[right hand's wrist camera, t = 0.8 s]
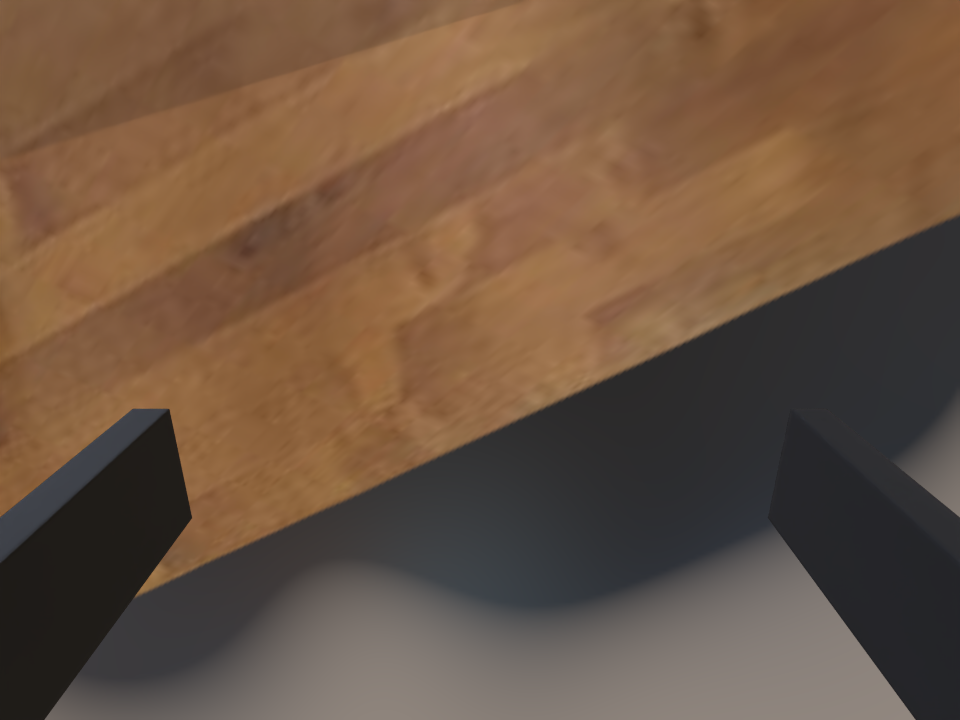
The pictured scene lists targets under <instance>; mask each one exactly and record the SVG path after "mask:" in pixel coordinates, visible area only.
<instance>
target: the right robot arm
mask: <svg viewBox="0 0 960 720" xmlns="http://www.w3.org/2000/svg"><path fill="white" fill-rule="evenodd" d="M191 519H192V515H191V511H190V506H189V501H188V496H187V491H186V487H185V482H184V477H183V472H182V467H181V463H180V458H179V453H178V448H177V444H176V439H175V434H174V429H173V424H172V420H171V415H170V410H169V409H132V410H131V411H130V412H129V413H127V414H126V415H125V416H124V417H122V418H121V419H120V420H119V421H118V422H116V423H115V424H114V425H113V426H111V427H110V428H109V429H108V430H107V431H105V432H104V433H103V434H102V435H100V436H99V437H98V438H97V439H96V440H94V441H93V442H92V443H91V444H89V445H88V446H87V447H86V448H85V449H83V450H82V451H81V452H80V453H78V454H77V455H76V456H75V457H74V458H72V459H71V460H70V461H69V462H67V463H66V464H65V465H64V466H63V467H61V468H60V469H59V470H58V471H56V472H55V473H54V474H53V475H52V476H50V477H49V478H48V479H47V480H45V481H44V482H43V483H42V484H41V485H39V486H38V487H37V488H36V489H34V490H33V491H32V492H31V493H30V494H28V495H27V496H26V497H25V498H23V499H22V500H21V501H20V502H19V503H17V504H16V505H15V506H14V507H12V508H11V509H10V510H9V511H8V512H6V513H5V514H4V515H3V516H1V517H0V720H44V719H45V718H46V717H47V715H48V714H49V713H50V711H51V710H52V708H53V707H54V706H55V704H56V703H57V702H58V700H59V699H60V697H61V696H62V695H63V693H64V692H65V691H66V689H67V688H68V687H69V685H70V684H71V682H72V681H73V680H74V678H75V677H76V676H77V674H78V673H79V672H80V670H81V669H82V667H83V666H84V665H85V663H86V662H87V661H88V659H89V658H90V657H91V655H92V654H93V652H94V651H95V650H96V648H97V647H98V646H99V644H100V643H101V642H102V640H103V639H104V637H105V636H106V635H107V633H108V632H109V631H110V629H111V628H112V627H113V625H114V624H115V622H116V621H117V620H118V618H119V617H120V616H121V614H122V613H123V612H124V610H125V609H126V607H127V606H128V605H129V603H130V602H131V601H132V599H133V598H134V596H135V595H136V594H137V592H138V591H139V590H140V588H141V587H142V586H143V584H144V583H145V581H146V580H147V579H148V577H149V576H150V575H151V573H152V572H153V571H154V569H155V568H156V566H157V565H158V564H159V562H160V561H161V560H162V558H163V557H164V556H165V554H166V553H167V551H168V550H169V549H170V547H171V546H172V545H173V543H174V542H175V541H176V539H177V538H178V536H179V535H180V534H181V532H182V531H183V530H184V528H185V527H186V526H187V524H188V523H189V521H190V520H191ZM768 519H769V520H770V521H771V523H772V524H773V525H774V527H775V528H776V530H777V531H778V532H779V534H780V535H781V536H782V538H783V539H784V540H785V542H786V543H787V545H788V546H789V547H790V549H791V550H792V551H793V553H794V554H795V555H796V557H797V558H798V560H799V561H800V562H801V564H802V565H803V566H804V568H805V569H806V571H807V572H808V573H809V575H810V576H811V577H812V579H813V580H814V581H815V583H816V584H817V586H818V587H819V588H820V590H821V591H822V592H823V594H824V595H825V596H826V598H827V599H828V601H829V602H830V603H831V605H832V606H833V607H834V609H835V610H836V612H837V613H838V614H839V616H840V617H841V618H842V620H843V621H844V622H845V624H846V625H847V627H848V628H849V629H850V631H851V632H852V633H853V635H854V636H855V637H856V639H857V640H858V642H859V643H860V644H861V646H862V647H863V648H864V650H865V651H866V652H867V654H868V655H869V656H870V658H871V659H872V661H873V662H874V663H875V665H876V666H877V667H878V669H879V670H880V672H881V673H882V674H883V676H884V677H885V678H886V680H887V681H888V682H889V684H890V685H891V687H892V688H893V689H894V691H895V692H896V693H897V695H898V696H899V698H900V699H901V700H902V702H903V703H904V704H905V706H906V707H907V708H908V710H909V711H910V713H911V714H912V715H913V717H914V718H915V719H916V720H960V517H958V516H957V515H956V514H955V513H954V512H952V511H951V510H950V509H949V508H948V507H946V506H945V505H944V504H943V503H941V502H940V501H939V500H938V499H937V498H935V497H934V496H933V495H932V494H930V493H929V492H928V491H927V490H926V489H924V488H923V487H922V486H921V485H919V484H918V483H917V482H916V481H915V480H913V479H912V478H911V477H910V476H908V475H907V474H906V473H905V472H904V471H902V470H901V469H900V468H899V467H897V466H896V465H895V464H894V463H893V462H891V461H890V460H889V459H888V458H886V457H885V456H884V455H883V454H882V453H880V452H879V451H878V450H877V449H875V448H874V447H873V446H872V445H871V444H869V443H868V442H867V441H866V440H864V439H863V438H862V437H861V436H860V435H858V434H857V433H856V432H855V431H853V430H852V429H851V428H850V427H849V426H847V425H846V424H845V423H844V422H842V421H841V420H840V419H839V418H838V417H836V416H835V415H834V414H833V413H831V412H830V411H829V410H828V409H791V410H790V415H789V420H788V424H787V429H786V434H785V439H784V444H783V449H782V453H781V458H780V463H779V467H778V472H777V477H776V482H775V487H774V492H773V496H772V501H771V506H770V511H769V516H768Z"/></svg>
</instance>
